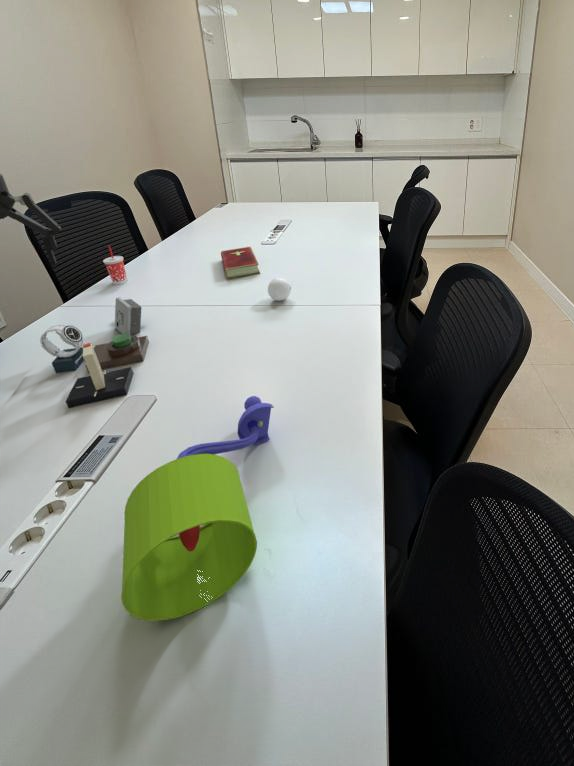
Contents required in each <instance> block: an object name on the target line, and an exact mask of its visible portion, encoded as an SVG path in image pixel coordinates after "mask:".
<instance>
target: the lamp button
mask: <svg viewBox="0 0 574 766" xmlns="http://www.w3.org/2000/svg"><path fill="white" fill-rule="evenodd" d="M130 335H131V334H121V333H120V334H117V335H115V336H114V337H113V338H112V339H111V341H112V343H113V346H114V347H115V348H120V347H124V346H127V345H129V344H130V343H131V342H132V339H131V336H130Z"/></svg>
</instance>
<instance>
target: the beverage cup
mask: <svg viewBox="0 0 574 766" xmlns="http://www.w3.org/2000/svg"><path fill="white" fill-rule="evenodd" d="M107 247H108V250H109V254H110V256H109V257H106V258H104V259H103V260H102V262H103V264H104V265H105V267H106V270H107V272H108V275H109V276H110V279H111V282H112V284H113V285H122V284H124V283H126V282H128V276H127V273H126V268H125V264H124V257H123V256H122V255H113V251H112V249H111V245H108V246H107Z"/></svg>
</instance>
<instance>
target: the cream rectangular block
mask: <svg viewBox="0 0 574 766" xmlns="http://www.w3.org/2000/svg"><path fill="white" fill-rule="evenodd" d="M82 347H83V358H84V363H85V365H86V366H87V368H88V371H89V373H88V374H89V376H91V378H92V381H93V383H94V386H95V388H96V390H99V389H102V388H105V382H104V375H103V373H104V371H103V370H102V369H101V367H100V364H99V361H98V359H97V356H96V353H95V351H94V345H93V343H92V342H88V343H83V344H82ZM86 366H85V367H86ZM87 368H86V369H87ZM88 371H87V372H88Z"/></svg>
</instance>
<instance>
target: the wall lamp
mask: <svg viewBox="0 0 574 766" xmlns="http://www.w3.org/2000/svg"><path fill="white" fill-rule="evenodd" d="M243 405H244V406H243V407H244V410H245V411H244V412H243V413H242V414H241V416H240V418H239V420H238V423H237V436H238V438H239V439H234V440H233V439H232V440H225V441H213V442H204V443H199V444H195V445H192V446H189V447H187V448H186V449H183V450H182V451H181V452H179V454H178V455H177V457H176V458H175V459H173V460H171V461H168V462H166V463H165V464H163V465H161V466H159V467H157V468H155V469H154V470H153V471H151V472H150V473H149V474H146V476H145V477H143V479H141V480H140V481H139V482H138V483H137V484H136V486H135V487H134V488H133V490H132V491H131V492H130V494H129V496H128V498H127V500H126V503H125V506H124V513H123V514H124V525H123V526H124V527H123V528H124V529H123V532H124V533H123V552H122V553H123V554H122V555H123V556H122V582H121V585H122V586H121V595H120V599H121V602H122V606H123V607H124V609H125V611H126V612H127V613H128V614H129V615H130V616H131V617H134V618H136V619H138V620H141V621H146V622H155V621H157V622H158V621H168V620H169V621H170V620H173V619H177V618H178V619H179V618H181V617H183V616H186V615H189V614H191V613H194V612H196V611H198V610H200V609H204V607H206V606H208V605H210V604H211V603H213V602H214V601H216V600H217V599H219V598H221V597H222V596H224V595H225V594H227V592H228V591H229V590H231V589H232V588H233V587H234V586H235V585H236V584H237V583H238V582H239V581H240V580H241V579H242V577H243V576H245V574H246V573H247V572H248V570H249V568H250V566H251V565H252V563H253V561H254V558H255V556H256V553H257V548H258V547H257V546H258V540H257V536H256V533H255V531H254V530H255V529H254V527H253V523H252V519H251V515H250V511H249V507H248V503H247V500H246V496H245V492H244V489H243V484H242V480H241V477H240V472H239V470H238V468H237V467H236V465H235V464H234V463H233V462H232V461H231V460H229V459H227V458H226V457H224V456H221V455H219V454H225V453H229V452H234V451H239V450H243V449H245V448H247V447H249V446H256V445H260V444H264V443H266V442H268V441H270V436H269V426H270V418H271V411H272V409H274V408H275V407H274V405H273V404H272V403H269V402H262V400H261V398H260V397H258V396H256V395H252V396H248V397H247V399H246V400H245V401H244V404H243ZM197 570H198V571H199V570H200V571H201V572H200V571H199V572H198V571H197ZM202 571H203V572H202ZM197 574H198V575H199V577H200V576H201V577H202V576H203V577H202V578H203V579H202V578H201V577H200V578H201V580H202V581H203V580H204V579H205V580H206V581H207V582H206V581H205V580H204V581H205V582H204V581H203V582H202V581H201V580H200V579H199V578H198V579H199V580H200V582H201V583H200V582H199V581H198V580H197V577H198V575H197ZM209 577H210V578H209ZM208 578H209V579H208ZM197 581H198V582H199V583H200V584H199V583H198V582H197ZM200 590H201V591H200ZM207 591H208V592H207ZM200 593H201V594H202V595H201V594H200ZM204 593H205V594H204ZM203 594H204V595H205V596H204V595H203ZM199 595H200V596H201V597H202V598H201V597H200V596H199ZM206 595H207V596H206ZM208 595H209V596H210V597H209V596H208ZM211 596H212V597H213V598H212V597H211ZM207 597H208V598H209V599H210V600H209V599H208V598H207ZM204 598H205V599H206V600H207V601H208V602H207V601H206V600H205V599H204ZM211 598H212V599H211Z"/></svg>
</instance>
